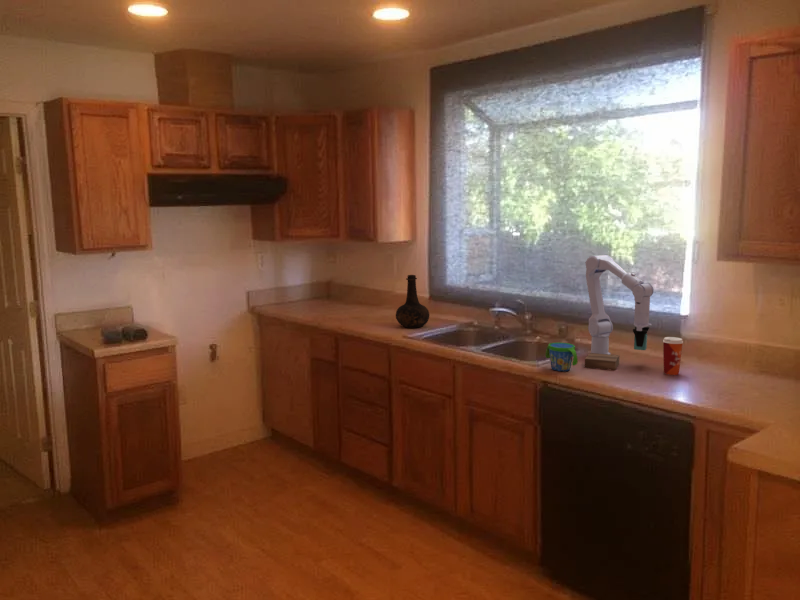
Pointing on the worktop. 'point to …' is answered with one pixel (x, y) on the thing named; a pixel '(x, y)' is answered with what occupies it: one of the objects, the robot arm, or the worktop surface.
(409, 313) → the glass bottle
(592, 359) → the walnut base
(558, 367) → the snack cup
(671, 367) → the paper cup
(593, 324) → the robot arm
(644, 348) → the teal block
